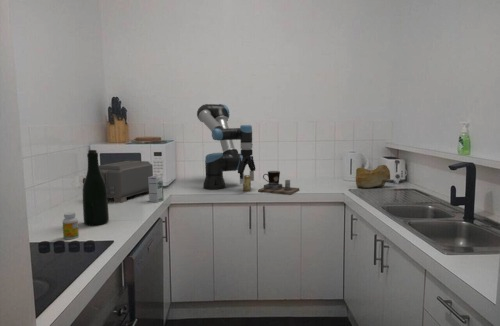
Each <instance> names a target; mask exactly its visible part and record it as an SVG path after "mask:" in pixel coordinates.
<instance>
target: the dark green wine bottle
mask: <svg viewBox="0 0 500 326" xmlns="http://www.w3.org/2000/svg"><path fill="white" fill-rule="evenodd" d="M87 152H88V153H87V154H86V155H87V157H86V158H87V171H86V175H85V178H84V182H83V184H82V213H83V214H82V216H83V223H84V225H86V226H100V225H104V224H107V223H108V222H109V220H110V217H109V202H108V199H109V198H108V199H107V189H106V184H105V182H104V180H103V178H102V175H101V173H100V170H99V153H98V152H97V149H89V150H87Z"/></svg>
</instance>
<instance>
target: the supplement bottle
mask: <svg viewBox="0 0 500 326" xmlns="http://www.w3.org/2000/svg"><path fill="white" fill-rule="evenodd" d="M63 218H64V219H62V230H63V231H62V234H63V239H65V240H75V239H77V238H78V237H79V235H80V234H79V232H80V231H79V220H78V218H77V217H76V212H75V211H73V212H72V211H70V212H65V213H64V214H63Z"/></svg>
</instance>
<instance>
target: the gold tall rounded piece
mask: <svg viewBox="0 0 500 326" xmlns="http://www.w3.org/2000/svg"><path fill="white" fill-rule="evenodd" d="M251 183H252V181H251V176H250V174H246V175H245V174H244V184H242V191H243V193H245V192H246V193H247V192H252V189H251V188H252V187H251V186H252V184H251Z"/></svg>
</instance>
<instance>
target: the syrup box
mask: <svg viewBox="0 0 500 326" xmlns="http://www.w3.org/2000/svg"><path fill="white" fill-rule="evenodd" d="M163 181H164V180H163V176H162V175H159V174H158V175H153V176H151V177H148V182H149V194H148V195H149V198H148V199H149V202H151V203H159V202H162V201H164V199H165V198H164V184H163Z"/></svg>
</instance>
